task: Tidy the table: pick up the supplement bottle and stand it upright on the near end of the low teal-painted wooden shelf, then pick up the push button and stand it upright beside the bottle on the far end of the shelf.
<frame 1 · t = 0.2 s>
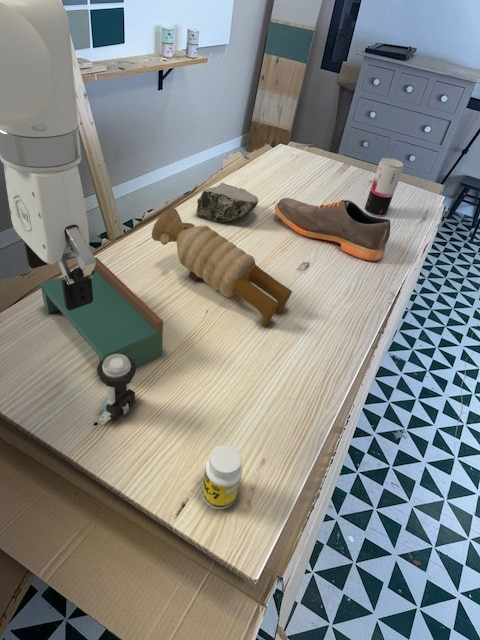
hand: (60, 284, 57), 23 cm above the worktop, tool pointing down, fingers open, 9 cm apart
oxford shoe: (326, 236, 123), on the worktop
shelf: (101, 332, 84), on the worktop
push button: (116, 412, 71), on the worktop
supplement bottle: (219, 494, 63), on the worktop
beverage can: (374, 212, 138), on the worktop
toy animal figurine: (216, 290, 98), on the worktop
concrete fragment: (226, 216, 124), on the worktop
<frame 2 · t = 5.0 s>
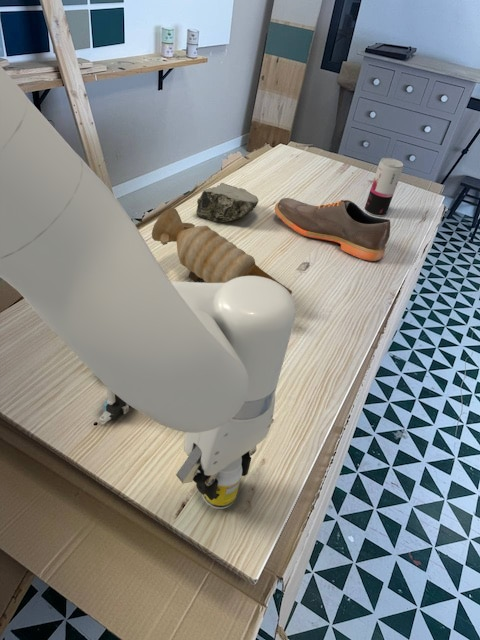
hand: (222, 478, 61), 4 cm above the worktop, tool pointing down, fingers closed on supplement bottle, 4 cm apart
supplement bottle: (219, 494, 63), on the worktop, touching gripper
everything else where it was.
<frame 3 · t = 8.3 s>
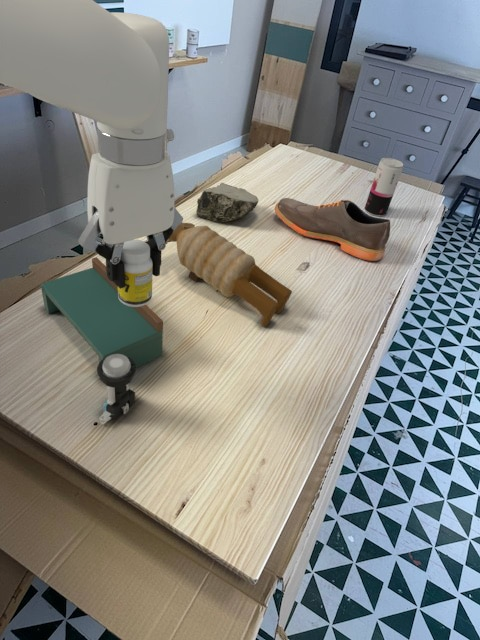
hand: (134, 275, 64), 20 cm above the worktop, tool pointing down, fingers closed on supplement bottle, 4 cm apart
supplement bottle: (135, 298, 67), point 16 cm above the worktop, touching gripper
everything else where it was.
when the fingers open (10 cm above the worktop, at t = 11.7 s): supplement bottle stays where it is, resting on shelf.
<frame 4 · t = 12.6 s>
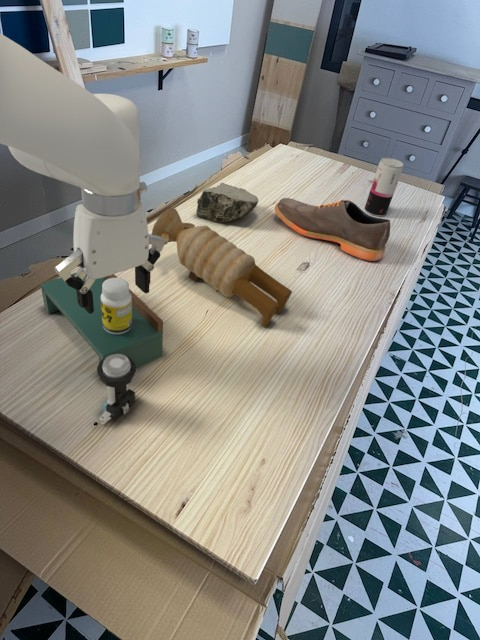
hand: (115, 298, 73), 12 cm above the worktop, tool pointing down, fingers open, 9 cm apart
supplement bottle: (117, 326, 77), point 6 cm above the worktop, touching shelf
everything else where it was.
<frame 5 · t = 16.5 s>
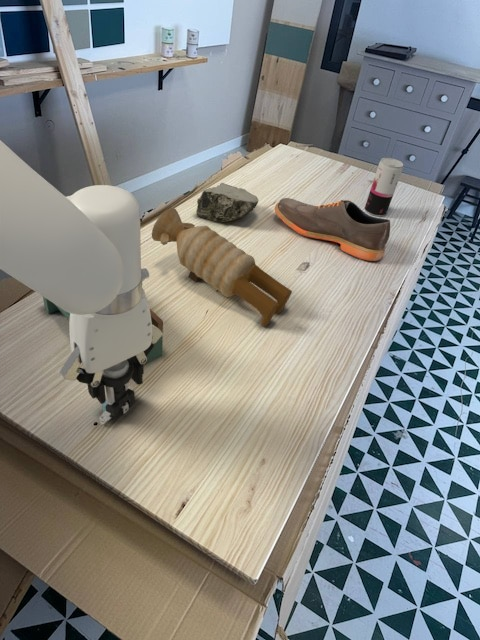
hand: (117, 386, 68), 5 cm above the worktop, tool pointing down, fingers closed on push button, 5 cm apart
push button: (116, 411, 71), on the worktop, touching gripper
everything else where it was.
when the fingers open (11 cm above the worktop, at t = 22.7 s): push button stays where it is, resting on shelf.
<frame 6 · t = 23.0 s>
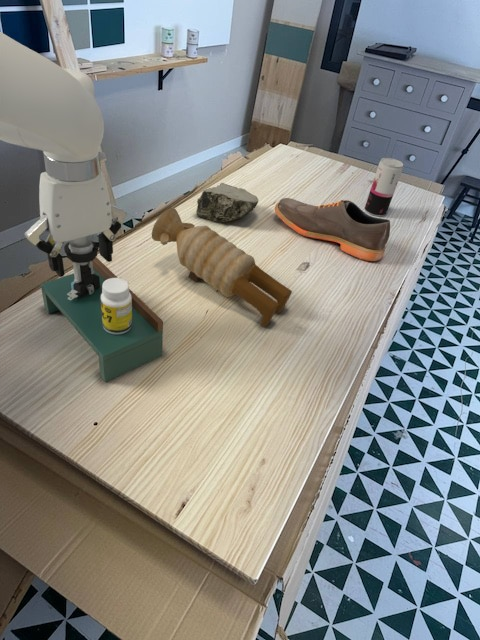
hand: (82, 264, 79), 12 cm above the worktop, tool pointing down, fingers open, 8 cm apart
push button: (83, 293, 82), point 6 cm above the worktop, touching shelf
everything else where it was.
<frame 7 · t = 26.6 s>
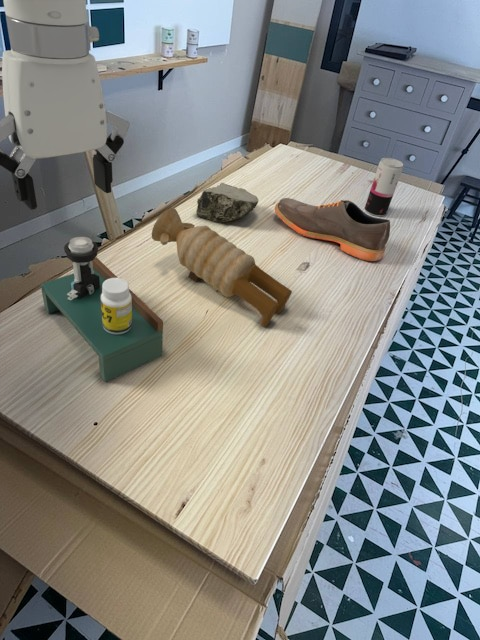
hand: (67, 196, 58), 30 cm above the worktop, tool pointing down, fingers open, 9 cm apart
nothing on the worktop moved.
at the end: supplement bottle inside the target area on the shelf (0.1 cm from its centre), point 5.8 cm above the shelf's base; push button inside the target area on the shelf (1.1 cm from its centre), point 5.8 cm above the shelf's base; push button tilted 0° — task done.
